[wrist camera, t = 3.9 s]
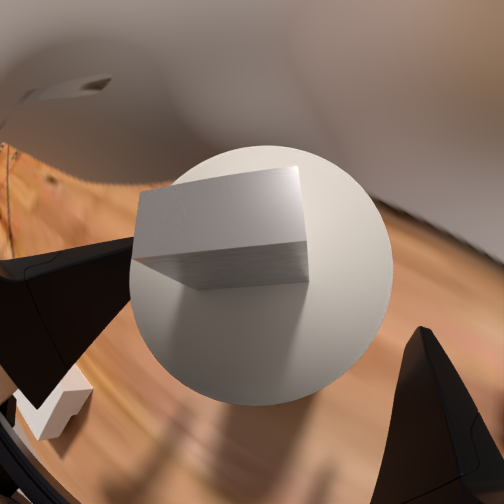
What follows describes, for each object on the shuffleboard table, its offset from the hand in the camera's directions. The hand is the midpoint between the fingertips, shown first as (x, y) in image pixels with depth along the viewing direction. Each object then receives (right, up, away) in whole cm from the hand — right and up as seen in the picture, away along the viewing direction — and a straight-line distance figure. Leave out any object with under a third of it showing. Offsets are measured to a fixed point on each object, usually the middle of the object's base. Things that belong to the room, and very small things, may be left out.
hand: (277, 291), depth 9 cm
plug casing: (+2, -3, +8) cm, 8 cm away
